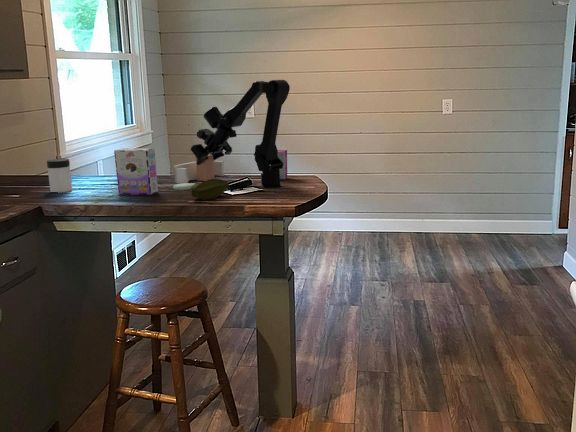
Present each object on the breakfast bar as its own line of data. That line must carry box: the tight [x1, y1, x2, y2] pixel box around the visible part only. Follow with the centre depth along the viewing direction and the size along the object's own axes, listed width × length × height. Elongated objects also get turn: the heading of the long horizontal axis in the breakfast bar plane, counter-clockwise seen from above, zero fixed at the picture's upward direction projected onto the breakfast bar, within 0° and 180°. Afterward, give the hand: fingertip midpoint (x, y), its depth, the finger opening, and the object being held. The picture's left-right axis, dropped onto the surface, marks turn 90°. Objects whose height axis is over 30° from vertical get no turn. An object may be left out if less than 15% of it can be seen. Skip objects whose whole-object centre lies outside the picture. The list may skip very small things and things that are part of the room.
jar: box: [46, 158, 73, 194], centre depth 241 cm, size 9×8×12 cm
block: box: [194, 154, 216, 182], centre depth 254 cm, size 5×5×10 cm
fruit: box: [189, 178, 229, 201], centre depth 216 cm, size 11×12×7 cm
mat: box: [172, 182, 196, 191], centre depth 238 cm, size 9×9×1 cm
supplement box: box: [277, 149, 288, 181], centre depth 249 cm, size 6×6×12 cm
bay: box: [173, 160, 225, 184], centre depth 256 cm, size 6×22×7 cm, turn 143°
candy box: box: [113, 147, 159, 196], centre depth 229 cm, size 14×6×16 cm, turn 71°
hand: (202, 163), depth 254 cm, fingers closed on block, 5 cm apart
